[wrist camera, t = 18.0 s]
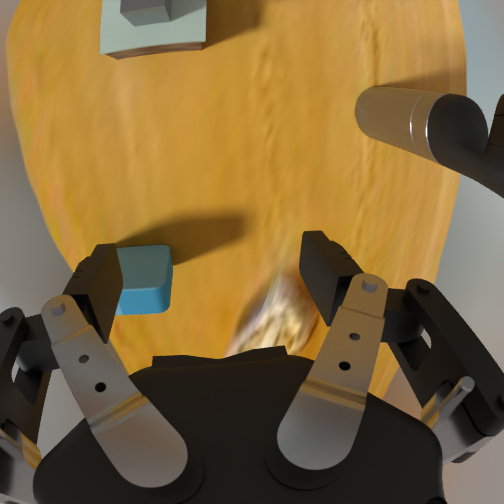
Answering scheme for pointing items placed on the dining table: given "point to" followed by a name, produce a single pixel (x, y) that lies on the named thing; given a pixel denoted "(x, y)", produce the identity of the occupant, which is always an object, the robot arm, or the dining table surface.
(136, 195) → the dining table surface
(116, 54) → the walnut box
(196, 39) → the box lid
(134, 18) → the block
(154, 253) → the data package
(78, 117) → the dining table surface
